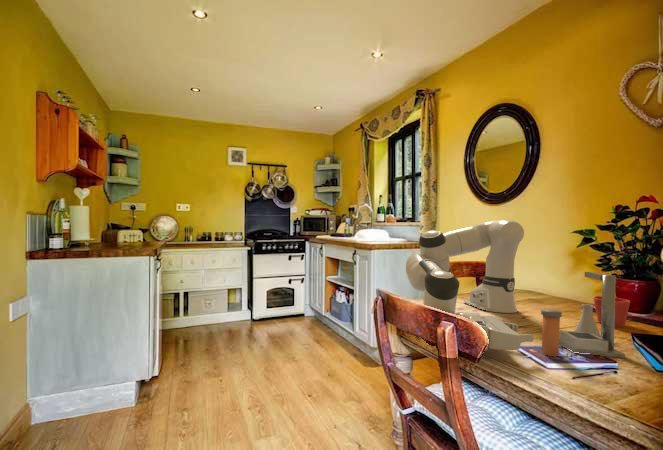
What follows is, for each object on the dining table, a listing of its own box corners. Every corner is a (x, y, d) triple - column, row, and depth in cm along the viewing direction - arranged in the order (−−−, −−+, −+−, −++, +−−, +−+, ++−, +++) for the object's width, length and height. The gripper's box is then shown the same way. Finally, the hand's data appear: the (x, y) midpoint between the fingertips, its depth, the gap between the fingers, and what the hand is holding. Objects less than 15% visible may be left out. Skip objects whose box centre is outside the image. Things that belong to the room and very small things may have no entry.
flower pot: (586, 319, 135) (587, 294, 136) (618, 321, 133) (619, 296, 133) (602, 326, 125) (603, 300, 125) (636, 329, 123) (637, 302, 123)
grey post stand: (573, 354, 96) (576, 276, 96) (547, 337, 110) (549, 269, 111) (625, 357, 94) (627, 278, 94) (591, 340, 109) (593, 271, 109)
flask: (605, 339, 110) (606, 308, 110) (580, 337, 112) (581, 306, 112) (593, 332, 117) (593, 303, 117) (569, 330, 119) (570, 302, 119)
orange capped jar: (536, 352, 96) (537, 309, 96) (547, 350, 98) (548, 308, 98) (552, 358, 91) (554, 313, 92) (564, 356, 93) (565, 312, 93)
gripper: (463, 329, 107) (509, 332, 105) (483, 352, 87) (541, 357, 85) (464, 309, 107) (510, 312, 105) (484, 328, 87) (542, 332, 85)
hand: (524, 332), depth 95 cm, fingers open, 8 cm apart
